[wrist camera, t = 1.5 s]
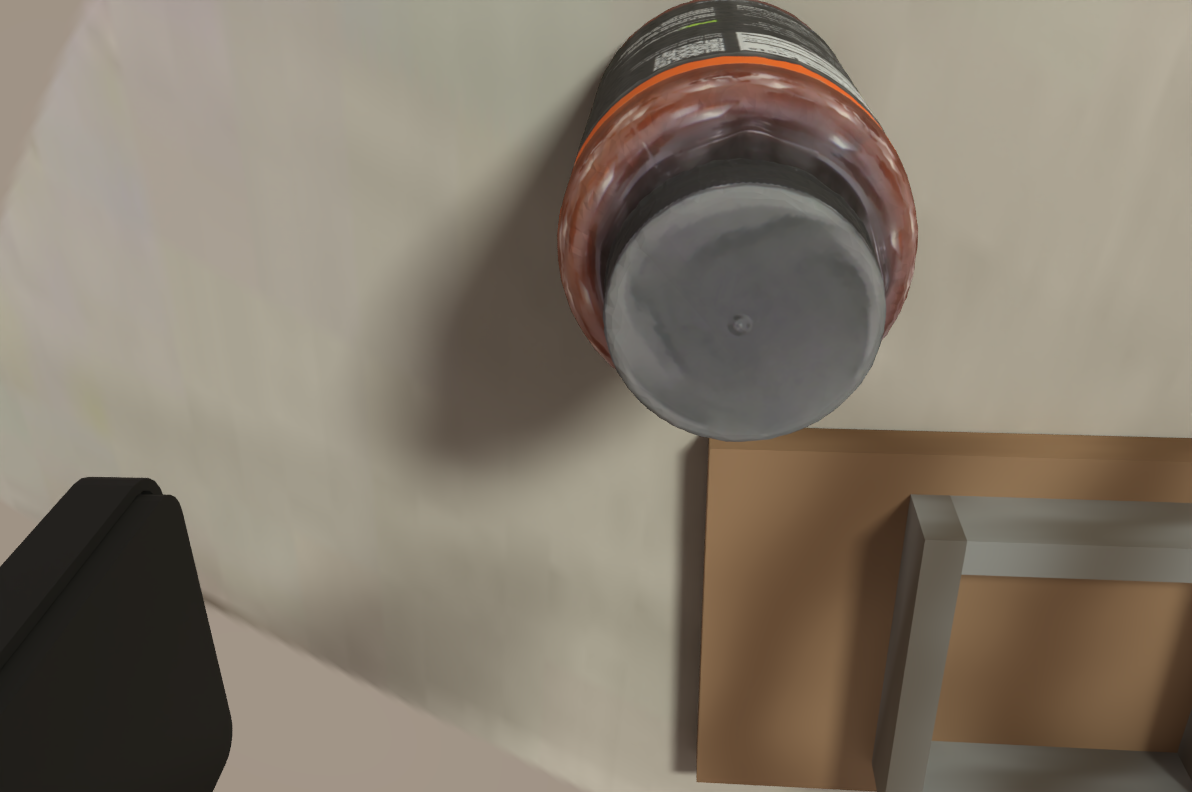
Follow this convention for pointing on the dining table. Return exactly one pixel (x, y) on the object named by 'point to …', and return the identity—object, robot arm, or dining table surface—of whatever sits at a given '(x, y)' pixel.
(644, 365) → the supplement bottle
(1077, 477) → the cap board
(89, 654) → the robot arm
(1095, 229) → the dining table surface
